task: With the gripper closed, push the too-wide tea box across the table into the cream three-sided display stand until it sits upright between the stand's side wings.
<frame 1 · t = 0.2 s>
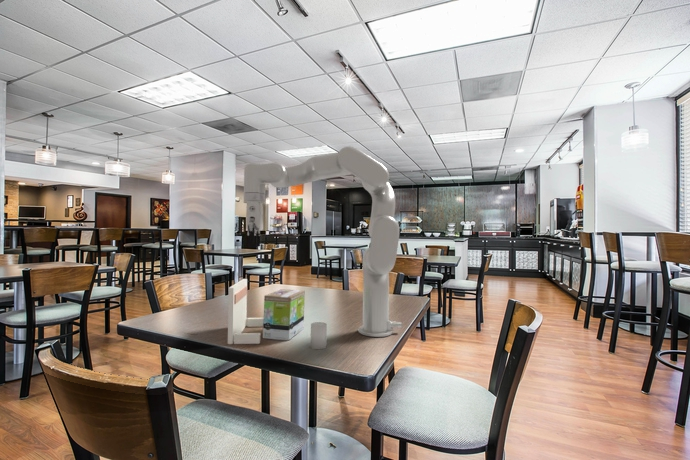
hand: (253, 246, 115), 31 cm above the table, tool pointing down, fingers open, 9 cm apart
tea box: (284, 334, 116), on the table
white cylinder: (318, 346, 103), on the table
display stand: (253, 333, 115), on the table
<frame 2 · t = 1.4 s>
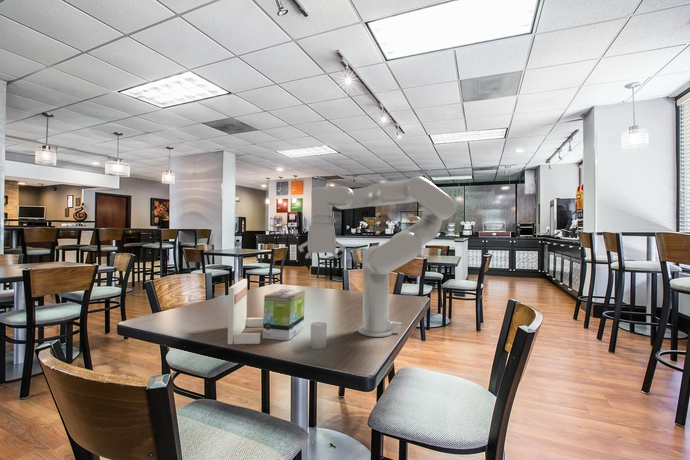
hand: (321, 269, 118), 23 cm above the table, tool pointing down, fingers open, 8 cm apart
nothing on the table moved.
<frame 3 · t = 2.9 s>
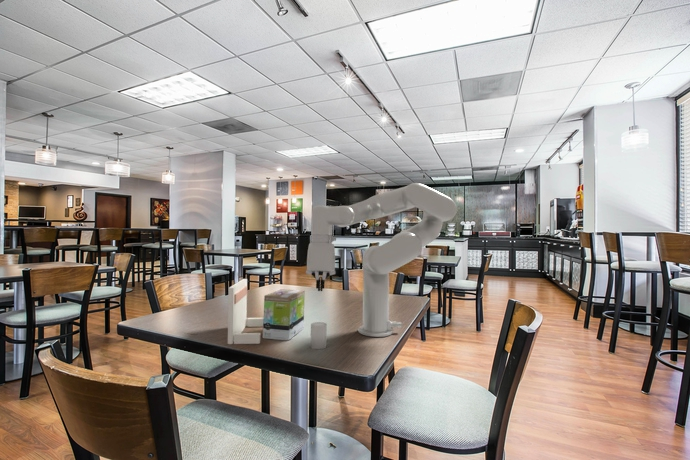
hand: (320, 290, 117), 15 cm above the table, tool pointing down, fingers closed
nothing on the table moved.
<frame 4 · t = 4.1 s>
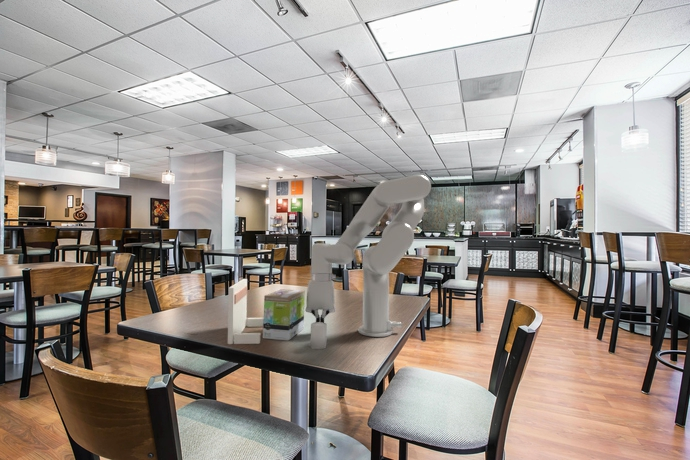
hand: (319, 328, 117), 2 cm above the table, tool pointing down, fingers closed
nothing on the table moved.
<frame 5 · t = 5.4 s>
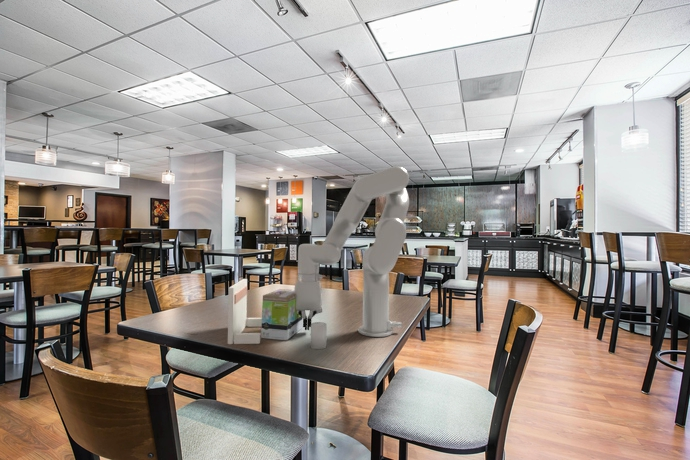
hand: (307, 329, 117), 1 cm above the table, tool pointing down, fingers closed
tea box: (282, 333, 116), on the table, touching gripper
everything else where it was.
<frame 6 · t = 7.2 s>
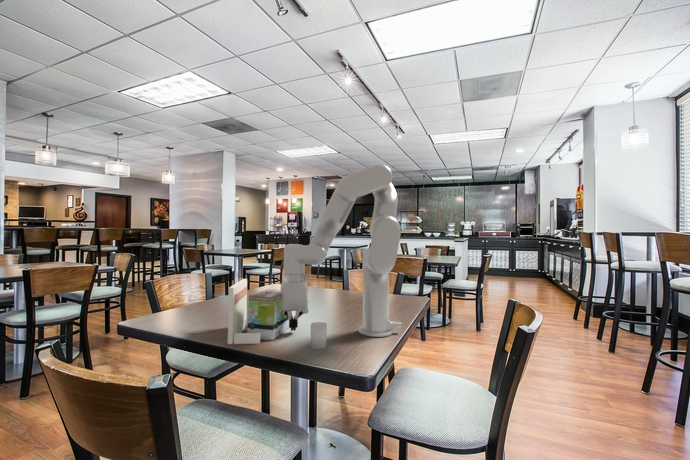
hand: (293, 329, 116), 1 cm above the table, tool pointing down, fingers closed
tea box: (269, 333, 116), on the table
everything else where it was.
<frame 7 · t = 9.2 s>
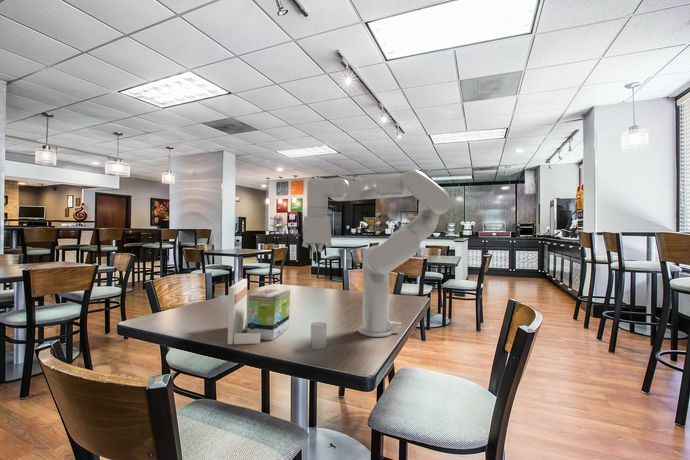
hand: (316, 263, 118), 25 cm above the table, tool pointing down, fingers closed
nothing on the table moved.
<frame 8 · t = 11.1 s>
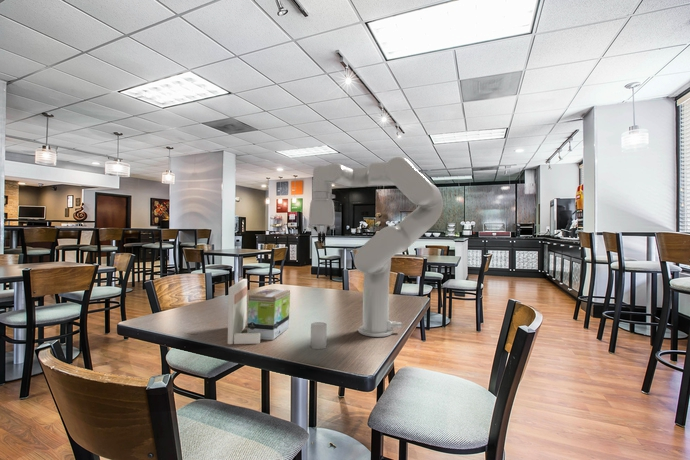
hand: (321, 243, 130), 32 cm above the table, tool pointing down, fingers closed
nothing on the table moved.
at the end: tea box 0.8 cm from the target spot, on the table; tea box tilted 0°; tea box moved 5.5 cm from its start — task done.
